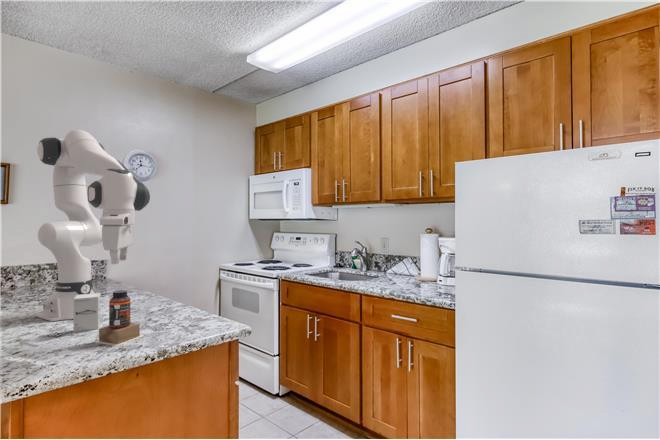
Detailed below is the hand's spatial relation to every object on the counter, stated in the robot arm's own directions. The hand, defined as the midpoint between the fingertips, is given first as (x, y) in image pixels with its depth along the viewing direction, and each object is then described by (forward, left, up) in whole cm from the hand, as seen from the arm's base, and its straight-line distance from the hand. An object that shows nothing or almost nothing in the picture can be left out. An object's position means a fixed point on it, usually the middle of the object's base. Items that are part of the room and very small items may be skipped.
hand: (119, 262), depth 114 cm
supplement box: (-21, +5, -26) cm, 34 cm away
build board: (-3, +1, -26) cm, 26 cm away
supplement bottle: (0, 0, -21) cm, 21 cm away
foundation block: (0, 0, -25) cm, 25 cm away
